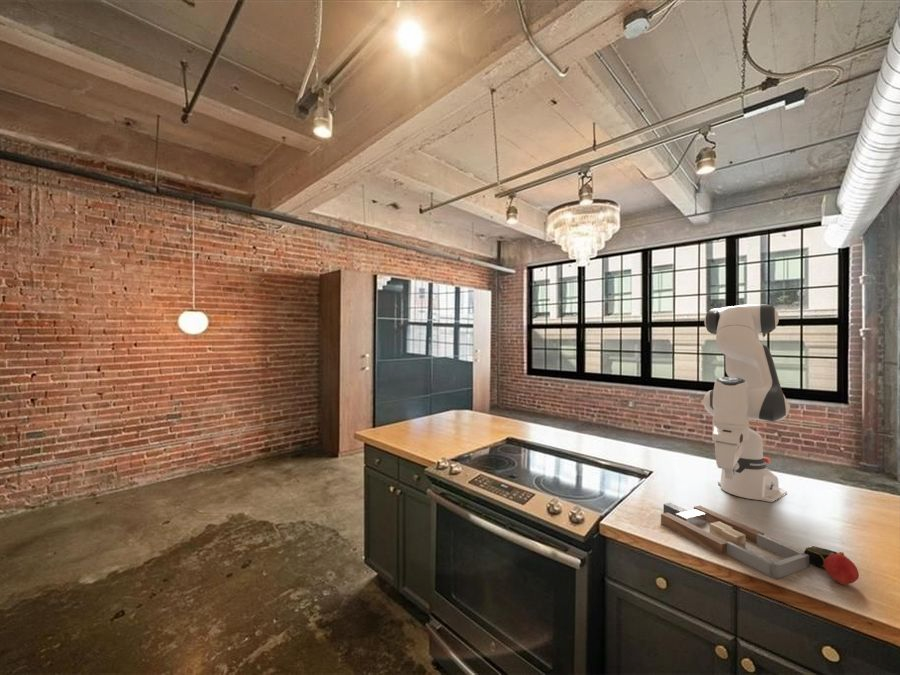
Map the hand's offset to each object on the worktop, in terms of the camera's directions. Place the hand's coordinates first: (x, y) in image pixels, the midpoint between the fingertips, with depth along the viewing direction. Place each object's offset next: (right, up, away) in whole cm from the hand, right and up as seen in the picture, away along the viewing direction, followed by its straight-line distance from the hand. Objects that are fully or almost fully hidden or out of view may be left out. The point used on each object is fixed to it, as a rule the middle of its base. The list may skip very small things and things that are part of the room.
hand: (730, 476), depth 112 cm
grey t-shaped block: (-7, -17, +6) cm, 19 cm away
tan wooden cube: (-4, -18, -2) cm, 19 cm away
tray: (0, -18, -13) cm, 22 cm away
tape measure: (+16, -18, -16) cm, 29 cm away
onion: (+10, -18, -22) cm, 30 cm away
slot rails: (-5, -18, +2) cm, 19 cm away
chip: (-3, -18, -6) cm, 19 cm away
